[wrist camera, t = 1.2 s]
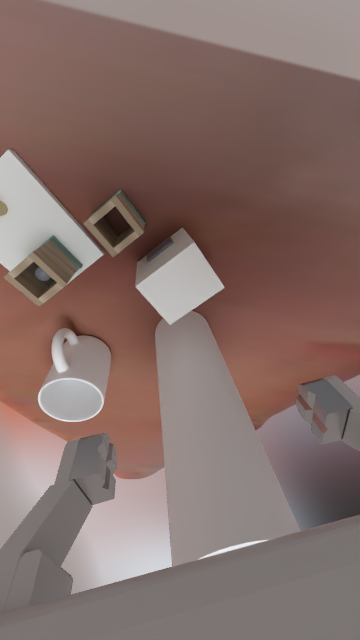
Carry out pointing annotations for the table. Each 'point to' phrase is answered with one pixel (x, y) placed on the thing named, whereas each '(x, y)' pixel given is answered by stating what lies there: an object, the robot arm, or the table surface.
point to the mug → (75, 377)
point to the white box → (176, 277)
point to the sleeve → (107, 233)
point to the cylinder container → (211, 451)
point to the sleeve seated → (53, 262)
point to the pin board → (36, 219)
